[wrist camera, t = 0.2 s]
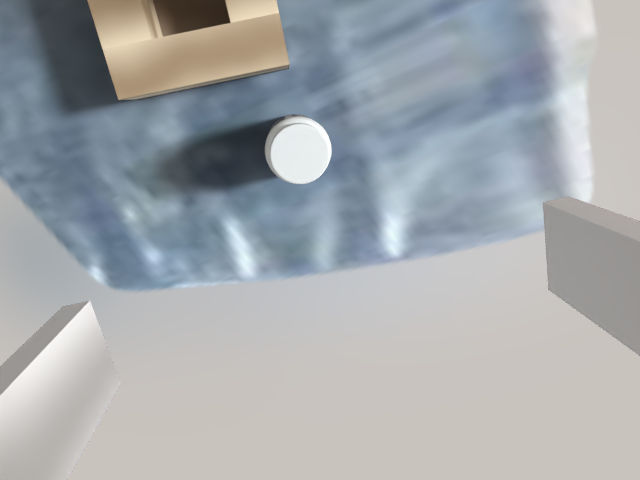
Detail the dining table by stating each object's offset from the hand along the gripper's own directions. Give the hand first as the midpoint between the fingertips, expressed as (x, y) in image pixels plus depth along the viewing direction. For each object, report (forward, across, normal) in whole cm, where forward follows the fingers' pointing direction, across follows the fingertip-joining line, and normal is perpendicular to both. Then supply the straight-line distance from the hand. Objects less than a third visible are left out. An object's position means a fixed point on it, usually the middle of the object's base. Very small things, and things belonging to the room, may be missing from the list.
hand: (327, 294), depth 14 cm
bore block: (+28, -5, +14) cm, 31 cm away
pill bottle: (+28, 0, +2) cm, 28 cm away
